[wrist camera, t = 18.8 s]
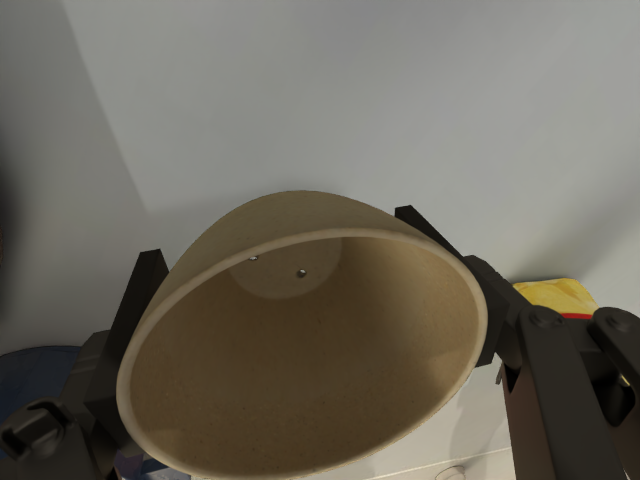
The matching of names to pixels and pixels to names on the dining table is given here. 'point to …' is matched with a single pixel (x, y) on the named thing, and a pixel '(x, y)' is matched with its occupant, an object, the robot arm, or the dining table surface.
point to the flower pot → (298, 341)
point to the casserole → (1, 246)
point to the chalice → (452, 474)
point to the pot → (48, 380)
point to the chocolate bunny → (560, 297)
